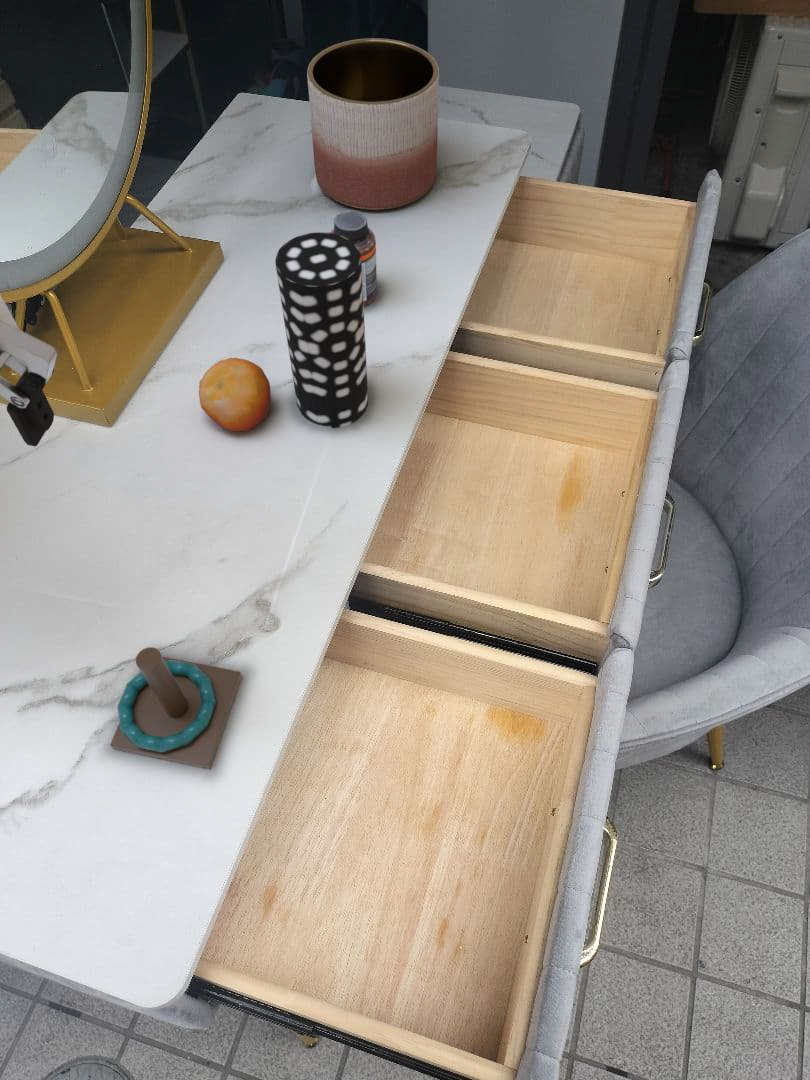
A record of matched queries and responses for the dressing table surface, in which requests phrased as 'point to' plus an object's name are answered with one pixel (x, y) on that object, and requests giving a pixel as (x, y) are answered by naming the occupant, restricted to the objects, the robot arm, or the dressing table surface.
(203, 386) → the fruit
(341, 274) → the spotted tube
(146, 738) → the bangle
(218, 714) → the jewel stand
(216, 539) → the dressing table surface
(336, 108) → the planter
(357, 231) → the supplement bottle
